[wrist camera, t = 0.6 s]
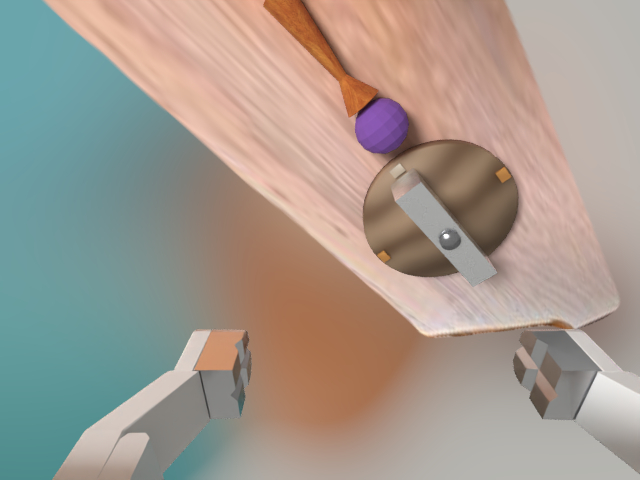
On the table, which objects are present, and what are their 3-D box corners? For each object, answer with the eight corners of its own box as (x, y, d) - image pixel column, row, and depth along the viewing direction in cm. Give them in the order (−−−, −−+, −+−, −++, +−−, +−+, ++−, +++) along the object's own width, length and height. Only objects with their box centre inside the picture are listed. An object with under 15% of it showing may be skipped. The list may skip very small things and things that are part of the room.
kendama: (296, -43, 31) (426, 130, 37) (297, -22, 36) (410, 126, 42) (250, 9, 32) (382, 168, 38) (257, 22, 38) (372, 159, 44)
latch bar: (390, 185, 43) (396, 203, 39) (413, 167, 42) (422, 184, 38) (462, 266, 49) (474, 289, 45) (485, 253, 48) (499, 275, 44)
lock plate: (333, 207, 48) (333, 216, 46) (460, 104, 40) (467, 109, 38) (416, 289, 56) (420, 300, 53) (538, 215, 48) (547, 225, 45)
